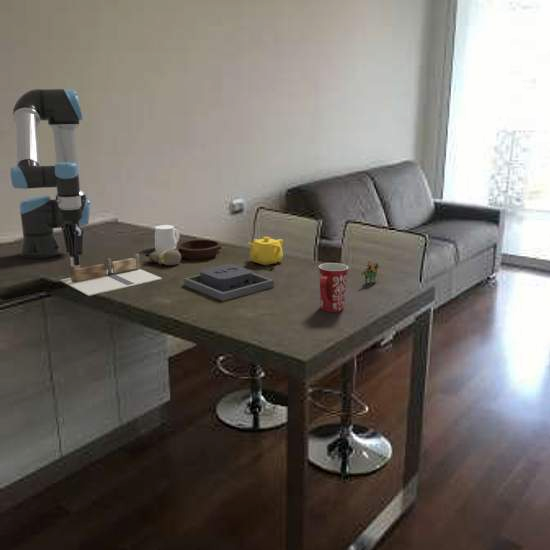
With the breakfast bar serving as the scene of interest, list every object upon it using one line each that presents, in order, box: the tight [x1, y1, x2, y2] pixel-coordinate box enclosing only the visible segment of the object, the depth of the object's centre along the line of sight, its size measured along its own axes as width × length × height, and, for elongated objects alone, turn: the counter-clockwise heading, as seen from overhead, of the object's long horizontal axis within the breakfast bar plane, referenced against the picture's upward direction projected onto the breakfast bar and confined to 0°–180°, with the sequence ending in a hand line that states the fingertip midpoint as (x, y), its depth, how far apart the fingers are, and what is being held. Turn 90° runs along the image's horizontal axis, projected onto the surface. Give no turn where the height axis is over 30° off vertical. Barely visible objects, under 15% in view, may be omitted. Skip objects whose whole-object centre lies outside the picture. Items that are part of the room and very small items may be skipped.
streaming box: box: [199, 263, 253, 292], centre depth 210 cm, size 14×14×5 cm
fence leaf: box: [69, 263, 108, 282], centre depth 214 cm, size 13×2×5 cm, turn 132°
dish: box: [176, 239, 222, 260], centre depth 247 cm, size 18×22×5 cm
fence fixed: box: [106, 253, 141, 275], centre depth 223 cm, size 13×2×6 cm, turn 132°
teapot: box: [247, 236, 284, 266], centre depth 236 cm, size 14×13×10 cm
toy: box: [145, 249, 182, 266], centre depth 236 cm, size 10×6×15 cm
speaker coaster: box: [183, 272, 275, 302], centre depth 209 cm, size 22×22×2 cm
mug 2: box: [318, 262, 349, 313], centre depth 185 cm, size 13×9×14 cm
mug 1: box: [154, 224, 180, 251], centre depth 258 cm, size 12×9×8 cm
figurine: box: [360, 261, 380, 285], centre depth 212 cm, size 3×12×8 cm, turn 141°
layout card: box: [60, 268, 163, 297], centre depth 215 cm, size 22×28×1 cm
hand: (76, 273), depth 216 cm, fingers closed
